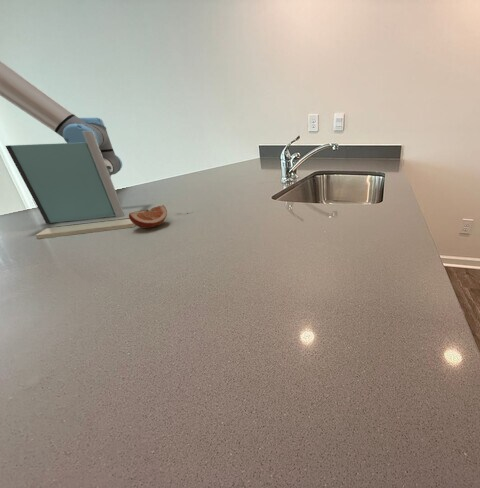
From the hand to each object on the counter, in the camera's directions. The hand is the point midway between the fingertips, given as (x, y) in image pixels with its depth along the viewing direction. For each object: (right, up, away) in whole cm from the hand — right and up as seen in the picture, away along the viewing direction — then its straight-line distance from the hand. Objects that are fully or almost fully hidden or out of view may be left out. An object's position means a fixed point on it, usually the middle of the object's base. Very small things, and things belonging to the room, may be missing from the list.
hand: (58, 182), depth 68 cm
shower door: (+3, -8, +5) cm, 10 cm away
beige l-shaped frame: (+8, -10, +4) cm, 14 cm away
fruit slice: (+26, -12, 0) cm, 28 cm away
